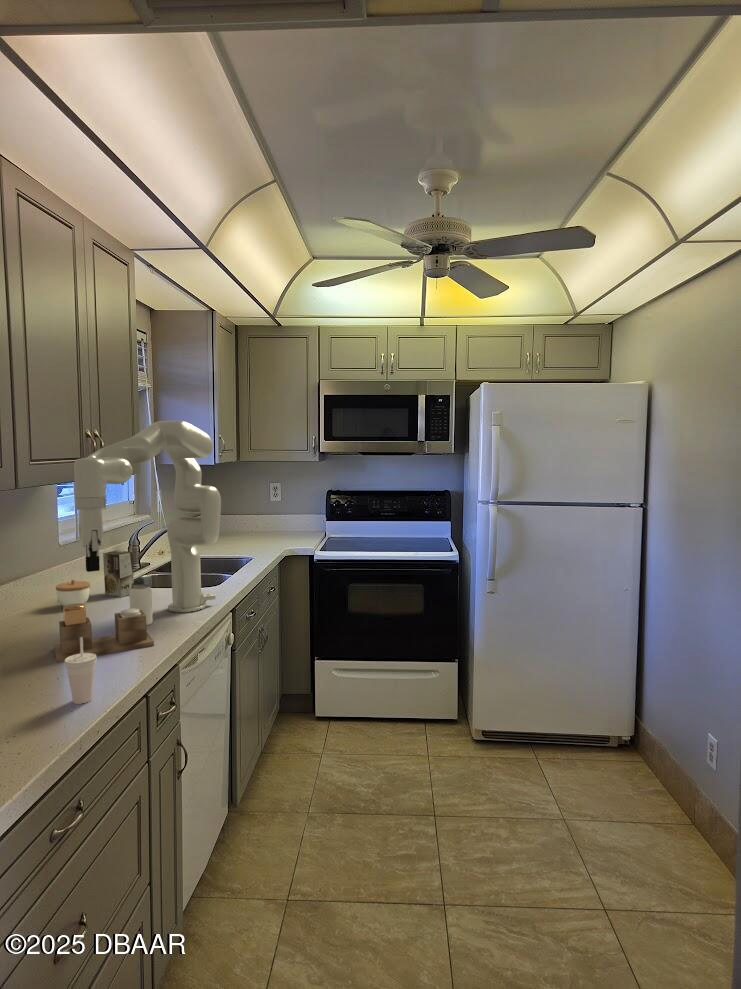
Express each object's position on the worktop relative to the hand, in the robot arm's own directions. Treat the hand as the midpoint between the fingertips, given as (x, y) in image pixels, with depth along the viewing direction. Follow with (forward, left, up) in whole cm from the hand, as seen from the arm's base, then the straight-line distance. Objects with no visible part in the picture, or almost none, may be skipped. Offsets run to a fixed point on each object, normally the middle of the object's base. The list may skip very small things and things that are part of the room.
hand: (92, 570), depth 160 cm
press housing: (-2, 0, -22) cm, 22 cm away
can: (-15, -17, -22) cm, 32 cm away
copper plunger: (+5, 0, -17) cm, 17 cm away
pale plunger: (-9, 0, -20) cm, 22 cm away
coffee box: (-15, -62, -22) cm, 67 cm away
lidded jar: (+1, -52, -22) cm, 57 cm away
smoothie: (+7, +35, -22) cm, 42 cm away
